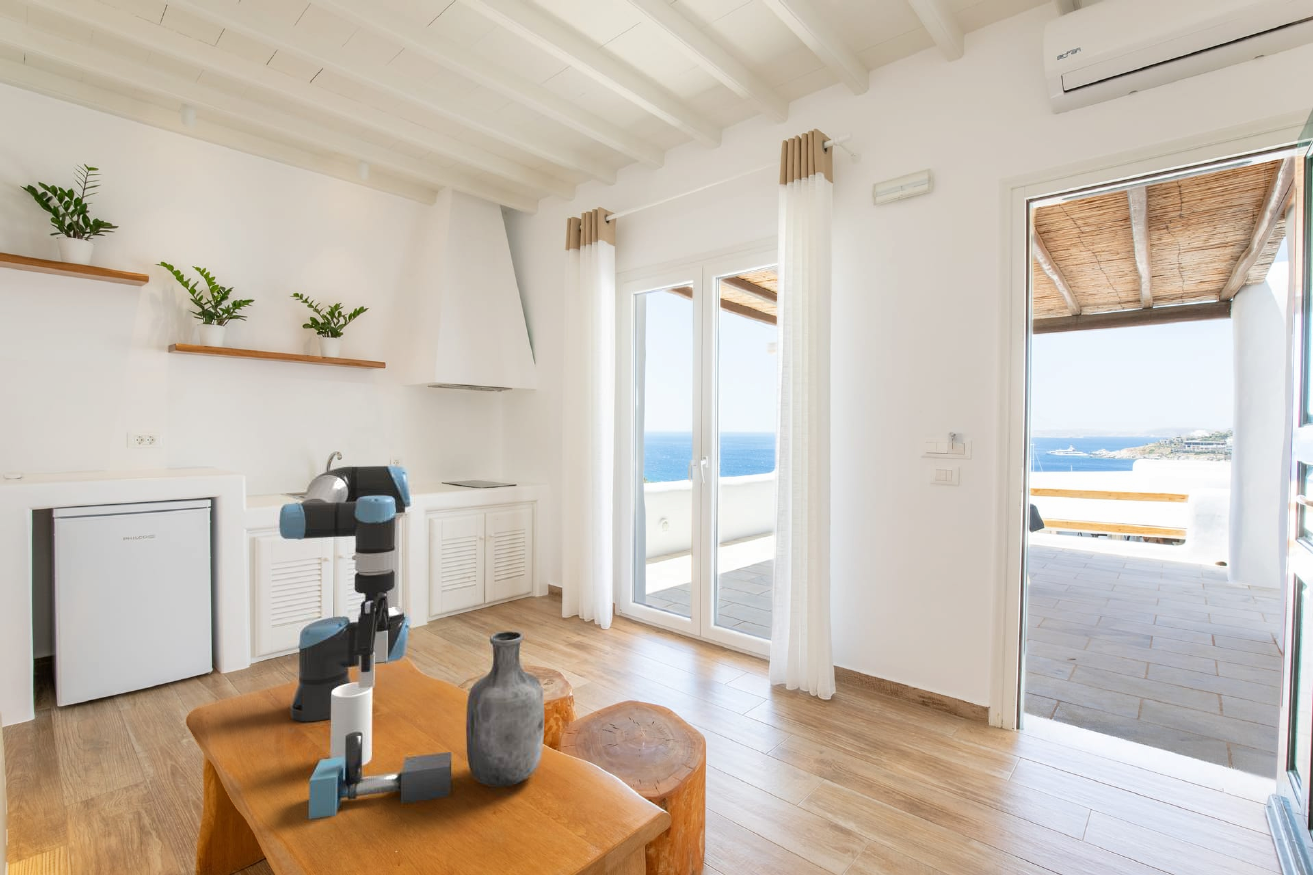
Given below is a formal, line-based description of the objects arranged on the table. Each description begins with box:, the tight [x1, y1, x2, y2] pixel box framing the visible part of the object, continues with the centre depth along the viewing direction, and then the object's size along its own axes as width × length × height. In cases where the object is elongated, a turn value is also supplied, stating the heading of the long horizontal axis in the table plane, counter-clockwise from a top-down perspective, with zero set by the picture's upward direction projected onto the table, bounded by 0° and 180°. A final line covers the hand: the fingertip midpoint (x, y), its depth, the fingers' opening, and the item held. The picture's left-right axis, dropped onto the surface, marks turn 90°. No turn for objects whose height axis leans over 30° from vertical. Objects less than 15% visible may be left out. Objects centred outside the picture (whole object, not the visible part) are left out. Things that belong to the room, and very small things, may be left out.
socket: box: [308, 757, 345, 820], centre depth 118 cm, size 4×8×7 cm, turn 15°
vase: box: [465, 631, 545, 788], centre depth 128 cm, size 16×16×30 cm
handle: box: [337, 732, 402, 800], centre depth 120 cm, size 17×4×12 cm, turn 105°
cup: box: [329, 681, 373, 767], centre depth 135 cm, size 8×8×16 cm
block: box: [400, 751, 452, 804], centre depth 123 cm, size 9×6×6 cm, turn 105°
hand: (373, 673), depth 125 cm, fingers open, 13 cm apart
